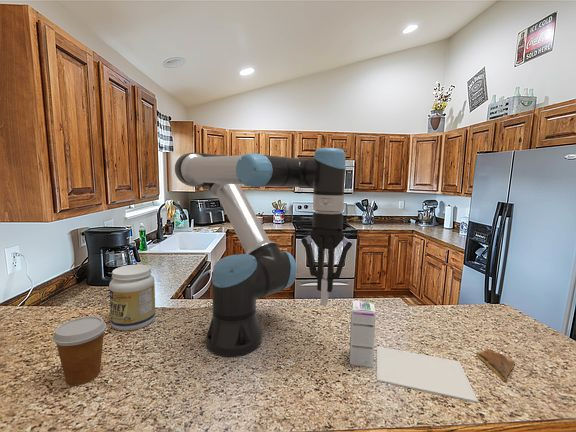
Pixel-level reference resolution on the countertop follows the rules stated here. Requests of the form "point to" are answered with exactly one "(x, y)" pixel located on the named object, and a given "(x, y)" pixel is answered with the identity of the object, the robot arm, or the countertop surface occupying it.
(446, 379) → the mat
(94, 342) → the disposable coffee cup
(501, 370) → the shard
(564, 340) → the countertop surface
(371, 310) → the syrup box
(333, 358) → the countertop surface
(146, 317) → the supplement tub
